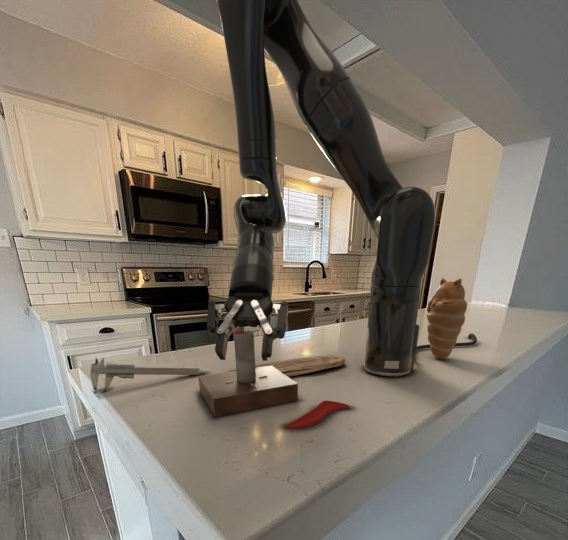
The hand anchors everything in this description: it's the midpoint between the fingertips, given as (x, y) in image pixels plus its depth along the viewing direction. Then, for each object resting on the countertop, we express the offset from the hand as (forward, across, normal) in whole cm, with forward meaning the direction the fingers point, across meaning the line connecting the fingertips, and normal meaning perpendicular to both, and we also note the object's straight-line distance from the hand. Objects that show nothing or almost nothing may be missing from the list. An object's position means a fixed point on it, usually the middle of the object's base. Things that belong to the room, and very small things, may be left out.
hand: (242, 357), depth 52 cm
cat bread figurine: (-13, +41, +24) cm, 50 cm away
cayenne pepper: (+9, +12, +2) cm, 15 cm away
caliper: (0, -20, +11) cm, 22 cm away
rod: (+2, 0, +4) cm, 5 cm away
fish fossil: (-7, +6, +17) cm, 19 cm away
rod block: (+4, 0, +6) cm, 8 cm away
